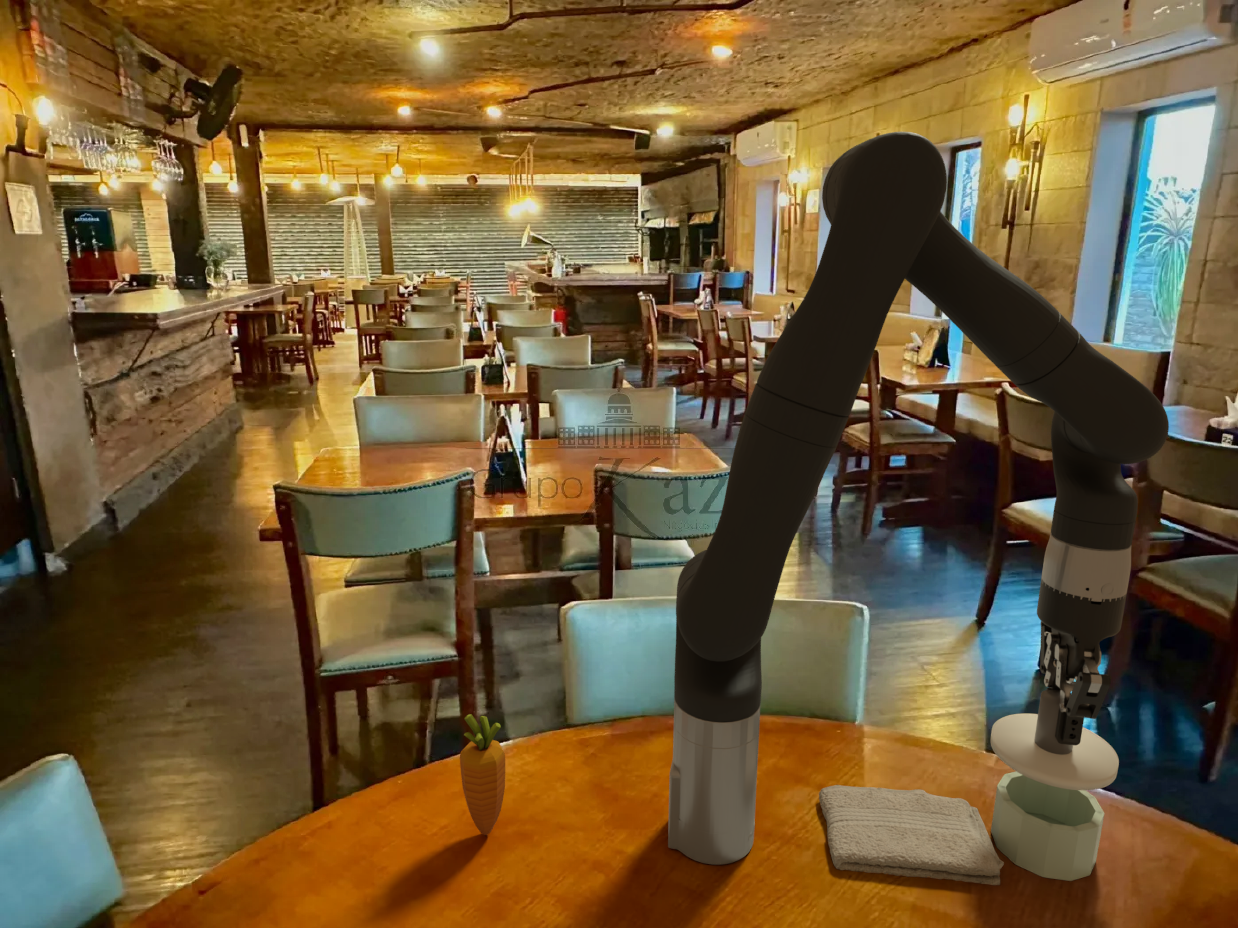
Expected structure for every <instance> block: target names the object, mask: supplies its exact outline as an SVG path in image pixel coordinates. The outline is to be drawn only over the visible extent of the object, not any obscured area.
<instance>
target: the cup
mask: <svg viewBox="0 0 1238 928" xmlns="http://www.w3.org/2000/svg"><path fill="white" fill-rule="evenodd" d="M995 792H996V793H995V797H994V798H995V799H994V800H995V801H994V804H993V807H994V808H993V814H992V819H991V820H992V821H991V826H990V827H991V829H990V833H991V835H992V839H993V841H994V844H995V847H996V848H997V849H998V851H1000V852H1001V853H1002V854H1003V855H1004V856H1006V857H1007V858H1008V859H1009V860H1010V861H1011V862H1012V863H1014V864H1015V865H1016V866H1018V867H1020V868H1022V869H1025V870H1027V871H1028V872H1031V873H1033V874H1035V875H1037V876H1039V877H1042V878H1046V879H1055V880H1061V881H1069V882H1072V881H1075V880H1079V879H1081V878H1085V877H1089V876H1091V873H1092V872H1093V869H1094V867H1095V864H1096V862H1097V857H1098V853H1099V852H1098V851H1099V846H1100V841H1101V835H1102V829H1103V824H1104V818H1105V812H1104V810H1103V808H1102V807H1101V805H1100V804H1099V802H1098V800H1097V798H1096V797H1095V796H1094V795H1092V794H1091V793H1090V792H1089V791H1088V790H1070V789H1063V788H1058V787H1054V786H1050V785H1047V784H1043V783H1041V782H1038V781H1035V780H1033V779H1030V778H1028V777H1026V776H1024V775H1022V774H1020V773H1018V772H1017V771H1015V770H1014V771H1012V772H1009V773H1008V772H1007V773H1005V774H1003V776H1002V777H1001V779H1000V781H999V782H998V784H997V785H996V791H995Z"/></svg>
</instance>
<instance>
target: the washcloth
mask: <svg viewBox="0 0 1238 928" xmlns="http://www.w3.org/2000/svg"><path fill="white" fill-rule="evenodd" d="M818 796H819V797H818V799H819V804H820V807H821V809H822V810H821V811H822V814H823V817H824V819H825V821H826V825H827V826H826V827H827V831H826V832H827V834H826V835H827V842H828V843H827V844H828V847H829V854H830V855H831V856H830V857H831V859H832V863H833V866H834V867H835V869H837V870H840V871H844V870H845V871H851V872H864V873H869V874H870V873H873V874H874V873H875V874H884V875H894V876H898V877H900V876H904V877H907V878H908V877H911V878H912V877H914V878H915V877H916V878H917V877H918V878H931V879H937V880H942V879H945V880H953V881H956V882H959V881H962V882H965V883H974V884H982V885H991V886H1000V885H1001V878H1000V875H1001V872H1000V871H1001V869H1002V867H1003V866H1004V864H1005V862H1004V861H1003V860H1001V859H1000V857H999V855H998V853H997V852H996V850H995V847H994V845H993V842H992V839H991V836H990V835H989V833H988V831H987V828H986V825H985V823H984V821H983V819H982V817H981V815H980V812H979V810H978V808H977V807H975V806H971V804H970V803H969V802H968V801H967V800H966V799H963V798H960V797H955V798H954V797H953V798H952V797H947V796H943V795H935V794H931V793H929V792H926V791H925V790H924V789H911V790H910V789H908V790H907V789H891V788H885V787H871V786H870V787H869V786H861V787H860V786H849V785H840V784H835V785H830V786H826V787H823V788H821V789H820V791H819V792H818Z"/></svg>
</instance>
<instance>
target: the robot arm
mask: <svg viewBox="0 0 1238 928" xmlns="http://www.w3.org/2000/svg"><path fill="white" fill-rule="evenodd" d="M945 164H946V163H945V161H944V159H943V156H942V154H941V152H940V151H939V149H938V147H936V145H935V144H934V143H933V142H932V141H931V140H929V139H928V138H927V137H926V136H923V135H921V134H919V133H915V132H911V131H893V132H888V133H882V134H879V135H877V136H874V137H872V138H869V139H868V140H865V141H863V142H861V143H858V144H856V145H855V146H852V147H851V148H849V149H847V150H846V151H845V152H843V154H841V155H840V156H838V158H837V159H836V160H835V161H834V162H833V163H832V164H831V166H830V167H829V169H828V171H827V174H826V176H825V178H824V181H823V185H822V190H821V191H822V193H821V195H822V196H821V200H822V208H823V211H824V213H825V216H826V217H825V218H827V220H828V222H829V224H830V228H829V232H828V235H827V238H826V241H825V244H824V248H823V251H822V255H821V257H820V260H819V264H818V266H817V269H816V272H815V274H814V277H813V280H812V281H811V283H810V286H809V288H808V290H807V291H806V293H805V296H804V297H803V299H802V301H801V302H800V304H799V306H798V307H797V309H796V310H795V312H794V313H793V315H792V317H791V318H790V320H789V321H788V323H787V324H786V326H785V327H784V329H783V331H782V332H781V334H780V335H779V337H778V339H777V340H776V342H775V344H774V345H773V347H772V348H771V350H770V352H769V354H768V356H767V358H766V359H765V361H764V364H763V366H762V368H761V371H760V373H759V374H758V378H757V380H756V383H755V385H754V387H753V391H752V393H751V396H750V398H749V401H748V404H747V406H746V409H745V412H744V414H743V418H742V422H741V425H740V427H739V430H738V435H737V438H736V441H735V446H734V450H733V455H732V458H731V459H732V460H731V463H730V468H729V473H728V477H727V478H728V479H727V484H726V490H725V495H724V500H723V505H722V509H721V512H720V513H721V514H720V516H719V519H718V522H717V525H716V527H715V530H714V532H713V535H712V537H711V540H710V542H709V543H708V545H707V548H706V549H705V550H703V551H700V552H698V553H697V554H695V555H694V556H693V557H691V558H690V559H689V560H688V561H687V562H686V564H685V565H684V566H683V567H682V569H681V571H680V574H679V577H678V580H677V585H676V586H677V587H676V602H675V615H676V617H675V621H676V622H675V623H676V624H675V650H674V651H675V652H674V653H675V654H674V682H673V683H674V686H673V687H674V693H673V694H674V695H673V697H674V698H673V700H674V701H673V735H672V737H673V740H672V744H673V746H672V761H671V765H670V769H669V778H668V779H669V783H668V784H669V785H668V786H669V787H668V789H669V790H668V826H667V827H668V828H667V830H668V834H667V836H668V839H667V847H668V848H669V849H673V850H678V851H679V852H681V853H682V854H683V855H684V856H686V857H687V858H690V859H692V860H694V861H696V862H699V863H702V864H709V865H727V864H732V863H734V862H738V861H740V860H741V859H743V858H744V857H745V856H746V855H747V854H749V852H750V851H751V849H752V847H753V845H754V841H755V840H754V839H755V828H756V826H755V825H756V823H755V822H756V821H755V819H756V803H757V801H756V799H757V783H758V782H757V778H758V761H759V760H758V758H759V744H760V743H759V741H760V722H761V719H760V717H761V704H762V702H761V701H762V687H763V685H762V684H763V679H762V678H763V677H762V637H763V635H764V634H765V631H766V629H767V628H768V623H769V620H770V617H771V613H772V610H773V605H774V601H775V598H776V594H777V591H778V589H779V588H778V587H779V583H780V581H781V577H782V574H783V571H784V568H785V564H786V561H787V558H788V555H789V551H790V549H791V547H792V544H793V542H794V539H795V537H796V535H797V533H798V531H799V528H800V527H801V525H802V523H803V520H804V518H805V517H806V515H807V512H808V511H809V508H810V506H811V504H812V502H813V500H814V498H815V495H816V493H817V491H818V489H819V487H820V485H821V483H822V480H823V478H824V476H825V474H826V471H827V469H828V466H829V464H830V462H831V460H832V458H833V455H834V453H835V452H836V449H837V447H838V445H839V442H840V440H841V437H842V435H843V432H844V430H845V427H846V426H847V422H848V420H849V419H850V417H849V416H851V414H852V409H853V407H854V404H855V402H856V399H857V396H858V393H859V390H860V388H861V386H862V383H863V382H864V381H863V380H864V379H865V376H866V373H867V371H868V368H869V367H870V366H869V365H870V363H871V361H872V358H873V355H874V352H875V350H876V347H877V344H878V341H879V340H880V339H879V338H880V336H881V333H882V331H883V330H882V329H883V328H884V324H885V322H886V319H887V316H888V314H889V311H890V309H891V307H892V305H893V303H894V300H895V298H896V296H897V294H898V293H899V290H900V289H901V286H902V285H903V283H904V281H907V282H908V283H910V285H912V286H913V287H914V288H916V290H918V291H919V292H920V293H921V294H922V295H923V296H925V298H927V299H928V300H929V301H930V302H932V304H933V305H935V307H936V308H938V309H939V310H940V311H941V312H942V314H944V315H945V317H946V318H948V319H949V320H950V321H951V322H952V323H953V325H954V326H956V327H957V329H959V330H960V331H961V333H963V334H964V335H965V336H966V337H967V339H968V340H970V341H971V342H972V343H973V344H974V346H976V348H977V349H978V350H979V351H981V353H982V354H983V355H984V356H985V357H986V358H987V359H988V360H989V361H990V362H991V363H992V364H993V365H994V366H995V367H996V368H997V369H998V370H1000V372H1001V373H1002V374H1004V375H1005V377H1007V378H1008V380H1010V382H1012V383H1013V385H1014V386H1016V388H1018V389H1019V390H1020V391H1021V392H1022V393H1024V394H1025V395H1027V396H1028V397H1030V398H1031V399H1034V400H1036V401H1038V402H1039V403H1042V404H1043V405H1045V406H1047V407H1048V408H1050V409H1051V410H1052V411H1054V412H1053V415H1052V419H1051V420H1052V421H1051V428H1050V443H1051V455H1052V469H1053V476H1054V481H1055V488H1056V490H1055V491H1056V497H1055V502H1054V507H1053V512H1052V513H1053V514H1052V522H1051V527H1050V535H1049V539H1048V542H1047V545H1046V548H1045V552H1044V558H1043V566H1042V570H1041V571H1042V572H1041V577H1040V578H1041V579H1040V585H1039V586H1040V587H1039V591H1038V592H1039V593H1038V594H1039V595H1038V599H1037V600H1038V601H1037V608H1036V615H1037V617H1038V619H1039V620H1040V654H1039V655H1040V658H1039V660H1040V661H1039V662H1040V663H1039V664H1040V666H1039V670H1040V673H1041V674H1045V676H1044V679H1043V683H1044V686H1045V687H1046V689H1045V690H1060V704H1059V707H1060V708H1059V713H1058V719H1057V726H1056V732H1055V738H1056V740H1057V741H1058V743H1060V744H1066V745H1078V744H1079V743H1080V741H1081V734H1082V728H1083V727H1084V723H1085V722H1084V721H1085V718H1086V719H1092V720H1096V719H1097V718H1098V715H1099V713H1100V711H1101V708H1102V705H1103V703H1104V701H1105V699H1106V697H1107V695H1108V692H1109V689H1110V686H1111V685H1112V684H1111V683H1112V680H1111V677H1110V675H1109V674H1103V673H1100V671H1099V666H1100V665H1102V650H1101V648H1100V643H1101V642H1102V641H1103V640H1105V639H1107V638H1111V637H1113V636H1116V635H1117V634H1118V633H1119V632H1120V631H1121V630H1122V629H1121V628H1122V623H1123V618H1124V612H1125V606H1126V598H1127V593H1128V587H1129V583H1130V582H1129V581H1130V577H1131V576H1130V574H1131V569H1132V544H1133V539H1134V532H1135V528H1136V520H1137V515H1138V510H1139V509H1138V508H1139V507H1138V506H1139V499H1138V495H1137V493H1136V492H1135V490H1134V489H1133V488H1132V487H1131V485H1130V484H1128V482H1127V481H1126V480H1125V478H1124V477H1123V474H1122V467H1121V466H1122V465H1132V464H1138V463H1141V462H1143V461H1147V460H1149V459H1150V458H1152V457H1154V456H1155V455H1156V454H1157V453H1159V451H1160V450H1161V449H1162V448H1163V446H1164V445H1165V443H1166V440H1167V437H1168V436H1169V435H1168V434H1169V428H1170V426H1169V425H1170V424H1169V417H1168V413H1167V411H1166V409H1165V408H1164V405H1163V403H1162V402H1161V401H1160V400H1159V399H1158V397H1157V396H1156V395H1155V394H1154V393H1153V392H1152V391H1151V390H1150V389H1149V388H1148V387H1147V386H1146V385H1145V384H1144V383H1142V382H1141V381H1140V380H1138V379H1137V378H1136V377H1135V376H1133V375H1132V374H1130V373H1129V372H1128V371H1127V370H1125V369H1124V368H1122V367H1121V366H1119V364H1117V363H1116V362H1114V361H1113V360H1112V359H1110V358H1108V357H1107V356H1105V354H1103V353H1101V352H1100V351H1098V350H1097V349H1095V348H1094V347H1093V346H1092V345H1091V344H1090V342H1088V341H1087V340H1086V338H1085V337H1084V336H1083V335H1082V334H1081V333H1080V331H1079V330H1077V328H1076V327H1074V326H1073V324H1071V323H1070V322H1069V320H1068V319H1067V318H1066V317H1065V316H1064V315H1063V314H1062V313H1061V312H1060V311H1059V310H1057V308H1056V307H1055V306H1054V305H1052V303H1051V302H1049V301H1048V300H1047V299H1046V298H1045V297H1044V296H1043V295H1042V294H1041V293H1039V292H1038V291H1037V290H1036V289H1035V288H1033V287H1032V286H1031V285H1030V284H1028V283H1027V282H1026V281H1024V280H1023V279H1021V278H1020V277H1019V276H1017V275H1016V274H1015V273H1013V272H1011V271H1010V270H1009V269H1007V268H1006V267H1004V266H1003V265H1001V264H1000V263H998V262H997V261H996V260H994V259H993V258H991V257H990V256H988V255H987V254H986V253H985V252H983V250H981V249H980V248H978V247H977V246H976V245H974V244H973V242H971V241H970V240H969V239H967V237H966V236H964V235H963V234H962V233H961V232H960V231H959V230H958V229H957V228H956V227H955V226H954V225H953V224H952V223H951V222H950V221H949V220H948V218H947V217H946V216H945V215H944V214H943V212H942V208H943V205H944V202H945V199H946V193H947V185H948V176H947V169H946V165H945ZM1069 694H1071V696H1070V698H1069Z"/></svg>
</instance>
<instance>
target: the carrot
mask: <svg viewBox="0 0 1238 928" xmlns="http://www.w3.org/2000/svg"><path fill="white" fill-rule="evenodd" d="M464 721H465V722H466V724H467V725H468V726H469V728H470V729H471V731H472V732H473V734H472V733H471V732H470V731H468V732H464V734H463V736H465V738H467V739H468V740H470V742H469V743H468V744H467V745H465V747H464V748H463V749H462V750H461V751H460V753H459V766H460V775H461V783H462V790H463V794H464V799H465V801H466V806H467V809H468V812H469V814H470V817H471V819H472V821H473V823H474V825H475V827H476V829H478V831H479V832H480V834H481V835H484V836H488V835H489V834H490V833H491V832H492V830H493V828H494V826H495V825H496V822H497V821H498V819H499V816H500V813H501V810H502V806H503V801H504V795H505V790H506V789H505V788H506V754H505V751H504V749H503V747H502V745H501V744H500V742H499V741H497V740H496V739H495V740H494V738H495V736H496V735H497V732H499V730H500V729H501V724H500V723H498V722H495V723H493V724H492V726H491V727H490V724H489V723H490V722H489V720H488V717H487V716H485V715H481V716H479V721H480V723H481V727H482V730H481V727H480V725H479V723H478V721H477V720H476V718H475V717H474V716H473V714H472V713H471V714H470V713H469V714H467V715H466V716H465V717H464Z"/></svg>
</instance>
